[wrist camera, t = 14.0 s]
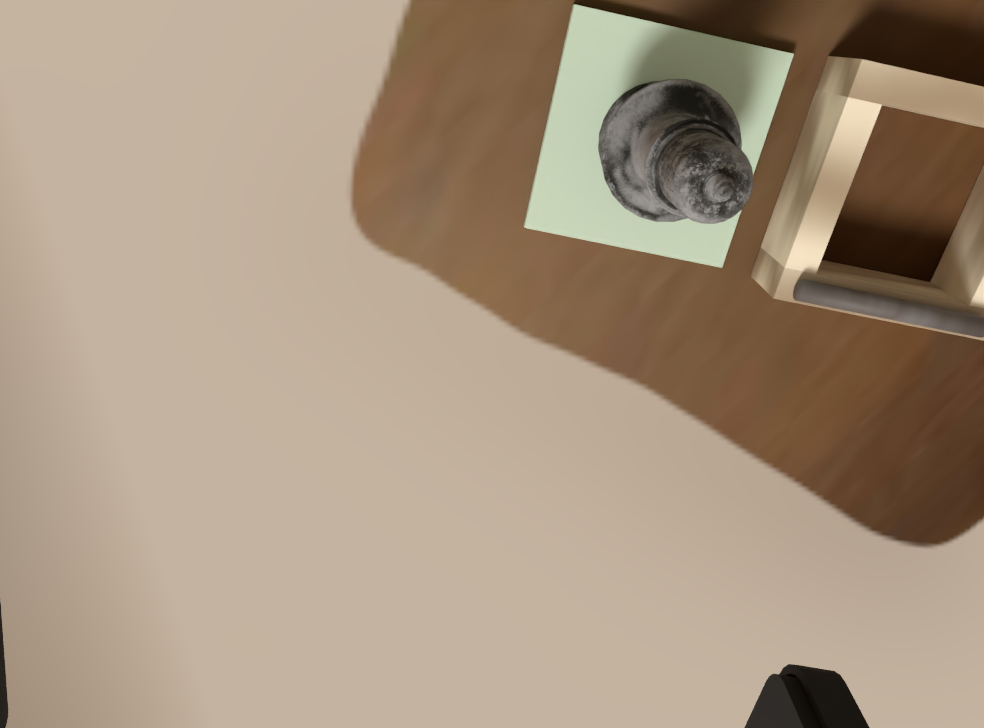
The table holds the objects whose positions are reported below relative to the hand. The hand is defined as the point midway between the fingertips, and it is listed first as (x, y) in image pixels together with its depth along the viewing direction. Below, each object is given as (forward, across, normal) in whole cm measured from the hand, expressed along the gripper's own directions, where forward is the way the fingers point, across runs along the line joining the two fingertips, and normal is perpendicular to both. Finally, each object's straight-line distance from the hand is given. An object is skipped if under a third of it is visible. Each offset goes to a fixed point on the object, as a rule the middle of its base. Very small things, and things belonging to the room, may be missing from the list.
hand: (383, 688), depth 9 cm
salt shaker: (+30, -8, -4) cm, 31 cm away
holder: (+30, -20, -4) cm, 37 cm away
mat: (+30, -8, -4) cm, 32 cm away
